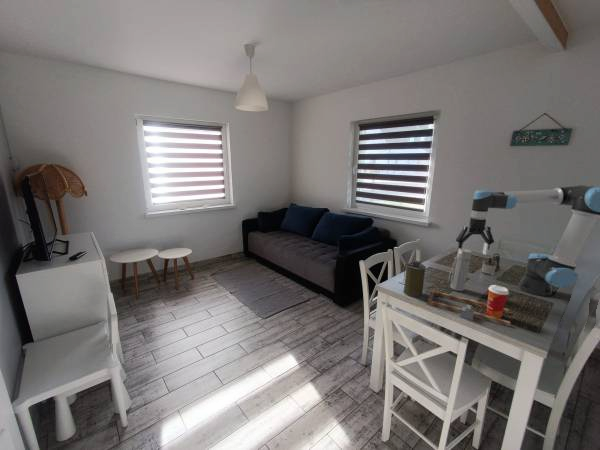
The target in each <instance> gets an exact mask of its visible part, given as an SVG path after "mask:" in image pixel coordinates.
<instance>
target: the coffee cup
mask: <svg viewBox="0 0 600 450" xmlns="http://www.w3.org/2000/svg"><path fill="white" fill-rule="evenodd" d="M509 294H510V293H509V289H508V288H506V287H505V286H500V285H496V284H491V285H490V286H489V287H488V295H487V296H488V297H487V303H486V304H487V309H486V315H487V316H491V317H495V318H498V319H501V318H502V315H503V314H504V313H503V309H504V308H505V305H506V302H507V299H508V295H509Z"/></svg>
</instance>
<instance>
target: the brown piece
mask: <svg viewBox="0 0 600 450" xmlns="http://www.w3.org/2000/svg"><path fill="white" fill-rule="evenodd" d="M435 296H436V297H437V296H438V297H440V298H444V299H448V300H452V301H454V302H455V301H456V302H460V303H463V304H466V305H470V306H471V305H472V306H475V307H479V308H483V309H486V310H487V303H484V302H481V301H477V300H475V299H471V298H468V297H467V298H466V297H461V296H456V295H453V294H449V293H445V292H440V291H438V290H435V289H432V290H431V292H430V294H429V296H428V298H427V304H426V305H430V306H433V307H436V308H440V309H443V310H446V311H447V310H448V311H451V312H454V313H458V314H461V313H462V308H461V307H458V306H457V307H456V306H453V305H449V304H446V303H442V302H438V301H435V300H433V299H434V297H435ZM502 314H507V315H508V314H509V309H508V308H505V307H504V309H503V313H502ZM473 318H475V319H480V320H483V321H487V322H490V323H494V324H498V325H501V326H506V327H508V328H509V327H510V326H511V321H509V320H505V319H501V318H500V319H498V318H495V317H491V316H488V315H487V314H483V313H479V312H476V311H474V316H473Z"/></svg>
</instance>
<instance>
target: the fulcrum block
mask: <svg viewBox="0 0 600 450" xmlns="http://www.w3.org/2000/svg"><path fill="white" fill-rule="evenodd" d="M465 305H466V306H462V308H461V309H462V313H460V318H463V319H465V320H469V321H473V320H474V317H473V316H474V312H475V309H474V308H472V306H471V304H465Z"/></svg>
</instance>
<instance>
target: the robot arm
mask: <svg viewBox="0 0 600 450" xmlns="http://www.w3.org/2000/svg"><path fill="white" fill-rule="evenodd" d="M533 204H534V205H536V204H539V205H540V204H541V205H542V204H553V205H556V206H559V205H563V206H570V207H571V208H570V211H571V212H572V215H571V217H570V220H569V221H568V224H567V225H566V227H565V230H564V231H563V234H562V236H561V238H560V240H559V241H558V244H557V246H556V247H555V248H556V249H555V250H554V252H553V254H552V255H551V254H547V253H541V252H540V253H538V252H532V253H530V254H528V255H529V256H528V259H527V264H526V268H525V273H524V276H523V278H521V280H520V282H519V283H518V288H519V289H520V290H521V291H523V292H526V293H527V294H532V295H536V296H542V297H550V296H552V293H553V288H552V287H556V288H566V287H570V286H572V285H573V284H574V283H575V282H576V281H577V278H578V275H577V273H576V272H575V269H576V267H577V265H576V263H575V261H576V260H577V257H578V256H579V253H580V251H581V250H582V247H583V246H584V243H585V242H586V239H587V238H588V236H589V233H590V232H591V230H592V228H593V226H594V224H595V223H596V221H597V219H599V218H600V186H592V185H591V186H590V185H573V186H563V187H562V186H561V187H555V188H553V189H539V190H538V189H537V190H535V189H534V190H519V191H495V192H493V191H491V190H481V189H479V190H475V192H474V194H473V197H472V206H471V214H470V218H469V226H466V225H464V226H463V228H462V230H461V231H460V232H459V234H458V235H457V237H456V238H455V242H458V245H457V248H458V251H459V253H460V254H461V255H463V249H465V248H464V247H465V242H466V241H467V240H468V239H469V238H470V237H471V236H473V235H480V236H481V238H482V239H483V240H484V244H483V249H482V254H483V255H485V256H487V255H488V250H490V246H491V245H492V244H494V243H495V240H494V238H493V234H492V232H491V229H492V228H491V226H487V218H488V212H489V209H500V210H501V209H504V210H512V209H514V208H516V205H533ZM484 231H485V232H486V234H485V232H484Z"/></svg>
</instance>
